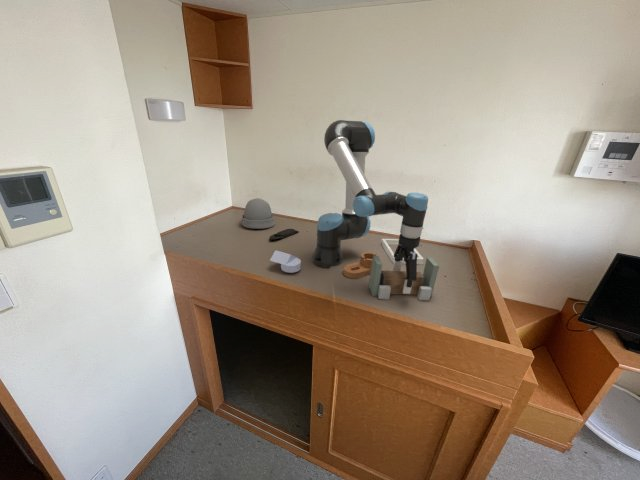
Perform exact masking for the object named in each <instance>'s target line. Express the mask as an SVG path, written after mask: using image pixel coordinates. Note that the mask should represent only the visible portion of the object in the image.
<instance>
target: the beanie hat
mask: <svg viewBox="0 0 640 480" xmlns="http://www.w3.org/2000/svg"><path fill="white" fill-rule="evenodd" d="M275 225H276V222H275V218H274V214H273V213H272V208H271V206H270V204H269V203H268V201H266V200H264V199H262V198H260V197H259V198H257V197H256V198H253V199H250V200H248V201H247V203H246V204H245V207H244V211H243V214H242V215H241V226H243V228H247V229H252V230H253V229H259V230H260V229H261V230H262V229H269V228H272V227H274V226H275Z"/></svg>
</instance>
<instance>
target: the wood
mask: <svg viewBox="0 0 640 480" xmlns="http://www.w3.org/2000/svg"><path fill="white" fill-rule="evenodd" d="M299 232H300V231H299V230H297V229H294V228H287V229H283V230H280V231H279V232H277V233H273V234H271V235H270V236H269V240H270V241H273V240H277V239H285V238H286V237H289V236H292V235H295V234H298V233H299Z"/></svg>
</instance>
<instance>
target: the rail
mask: <svg viewBox="0 0 640 480" xmlns="http://www.w3.org/2000/svg"><path fill="white" fill-rule="evenodd" d="M405 278H407V274H406V270H400V271H393V270H381V277H380V283H379V285H387V286H390V288H391V291H390V295H404V294H403V288H404V283H405ZM423 281H424V276H423V273H422V272H421V271H417V280H416V281H413V283H412V287H411V292H410V294H409V295H417V296H418V292H419V288H420V286H423Z"/></svg>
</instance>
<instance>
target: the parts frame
mask: <svg viewBox="0 0 640 480" xmlns="http://www.w3.org/2000/svg"><path fill="white" fill-rule="evenodd" d="M380 244H381V246H382V247H383V249H384V250H385V252H386V254H387V256H388V258H389V259H390V260H391V263H392V264H395V261H396V260H395V257H394V253H395V252H394V251H393V250H392V248H391V247H390V246H389V245H393V246H395V245H396V246H398V244H399V238H381V242H380ZM414 254H417V265H423V264H424V262H425V260H424V259H425V257H423V256H422V255H421V254H420V253H419V251H418V250H417V249H416V248H414ZM401 262H402V264H401V265H406V262H405V261H404V258H403V261H401Z"/></svg>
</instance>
